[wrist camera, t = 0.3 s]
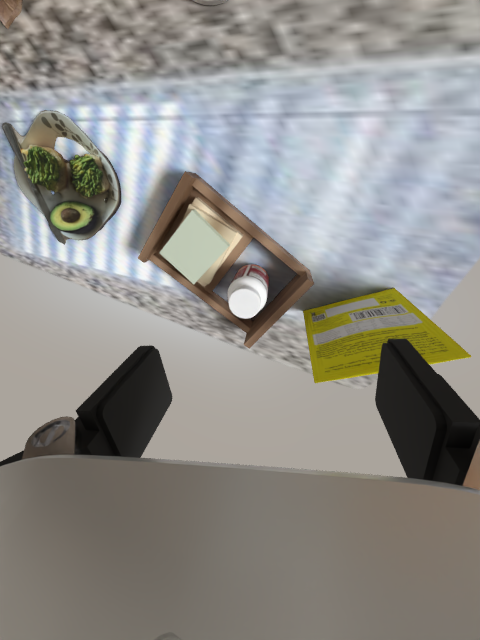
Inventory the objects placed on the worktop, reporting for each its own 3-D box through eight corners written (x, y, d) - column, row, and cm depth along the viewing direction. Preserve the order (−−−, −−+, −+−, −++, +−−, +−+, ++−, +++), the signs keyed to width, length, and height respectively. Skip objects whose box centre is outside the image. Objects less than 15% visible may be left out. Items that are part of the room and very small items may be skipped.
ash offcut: (170, 257, 43) (166, 259, 42) (192, 203, 39) (189, 204, 37) (211, 281, 44) (208, 284, 43) (237, 231, 39) (236, 233, 38)
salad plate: (-7, 162, 44) (-37, 159, 40) (43, 74, 37) (13, 59, 33) (80, 254, 49) (61, 260, 45) (138, 192, 42) (122, 192, 38)
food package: (303, 313, 47) (315, 386, 29) (302, 308, 47) (313, 378, 29) (394, 290, 43) (471, 360, 25) (393, 284, 42) (471, 351, 25)
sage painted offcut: (163, 250, 41) (159, 252, 40) (195, 209, 37) (191, 210, 36) (196, 281, 43) (193, 284, 41) (230, 244, 39) (228, 246, 38)
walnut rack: (151, 251, 46) (131, 261, 40) (195, 173, 39) (179, 170, 33) (253, 329, 50) (249, 348, 44) (309, 270, 43) (314, 283, 37)
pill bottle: (238, 298, 48) (227, 325, 38) (232, 266, 45) (218, 286, 35) (271, 294, 46) (268, 321, 37) (267, 260, 44) (262, 280, 34)
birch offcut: (165, 252, 44) (161, 254, 43) (198, 197, 39) (195, 197, 38) (206, 284, 46) (204, 287, 44) (243, 235, 41) (242, 236, 40)
